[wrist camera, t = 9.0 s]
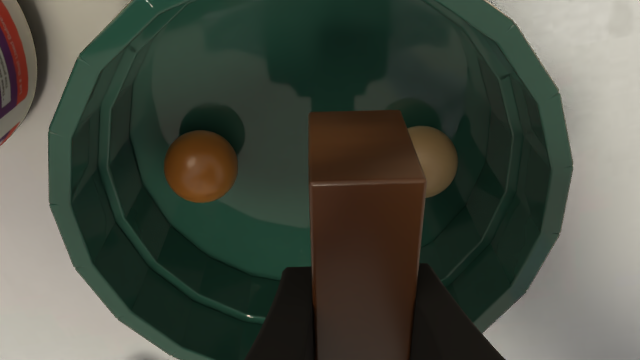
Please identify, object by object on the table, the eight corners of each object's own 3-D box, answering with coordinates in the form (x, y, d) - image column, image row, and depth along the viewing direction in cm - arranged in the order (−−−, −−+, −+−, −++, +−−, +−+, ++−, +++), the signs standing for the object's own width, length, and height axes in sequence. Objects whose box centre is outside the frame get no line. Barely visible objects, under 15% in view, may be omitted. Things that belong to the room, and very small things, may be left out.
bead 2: (461, 148, 19) (480, 183, 17) (406, 186, 20) (418, 224, 18) (423, 100, 18) (438, 131, 16) (366, 142, 19) (373, 176, 17)
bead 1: (256, 152, 19) (249, 188, 17) (208, 191, 20) (196, 229, 18) (206, 104, 18) (193, 136, 16) (157, 146, 19) (139, 181, 17)
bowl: (581, 158, 20) (656, 239, 16) (294, 337, 24) (291, 439, 20) (340, -200, 14) (354, -227, 10) (23, 120, 19) (-62, 197, 14)
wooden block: (401, 108, 12) (428, 180, 9) (384, 363, 16) (400, 462, 13) (307, 110, 11) (307, 183, 9) (316, 365, 16) (317, 465, 13)
